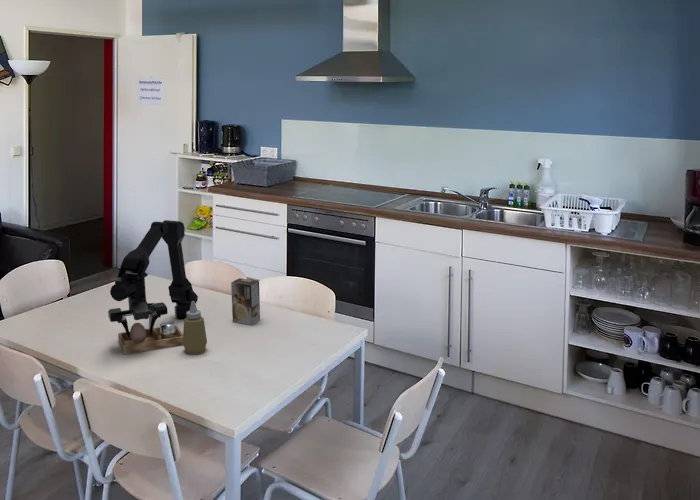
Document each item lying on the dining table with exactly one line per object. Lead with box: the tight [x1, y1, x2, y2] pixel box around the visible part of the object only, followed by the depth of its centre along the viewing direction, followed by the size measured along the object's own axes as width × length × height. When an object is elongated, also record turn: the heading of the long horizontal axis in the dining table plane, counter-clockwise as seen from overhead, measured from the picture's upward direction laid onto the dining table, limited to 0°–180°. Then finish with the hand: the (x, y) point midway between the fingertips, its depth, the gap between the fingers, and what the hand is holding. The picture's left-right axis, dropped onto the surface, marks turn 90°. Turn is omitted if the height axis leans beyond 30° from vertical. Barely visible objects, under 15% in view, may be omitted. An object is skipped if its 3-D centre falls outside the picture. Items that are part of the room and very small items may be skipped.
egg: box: [129, 322, 146, 343], centre depth 225 cm, size 5×5×7 cm
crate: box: [117, 324, 184, 356], centre depth 227 cm, size 20×13×4 cm, turn 117°
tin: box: [159, 321, 176, 340], centre depth 229 cm, size 5×5×6 cm
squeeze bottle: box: [182, 301, 208, 355], centre depth 219 cm, size 8×8×18 cm
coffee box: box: [230, 277, 261, 326], centre depth 248 cm, size 9×6×16 cm
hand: (139, 335), depth 224 cm, fingers open, 7 cm apart
